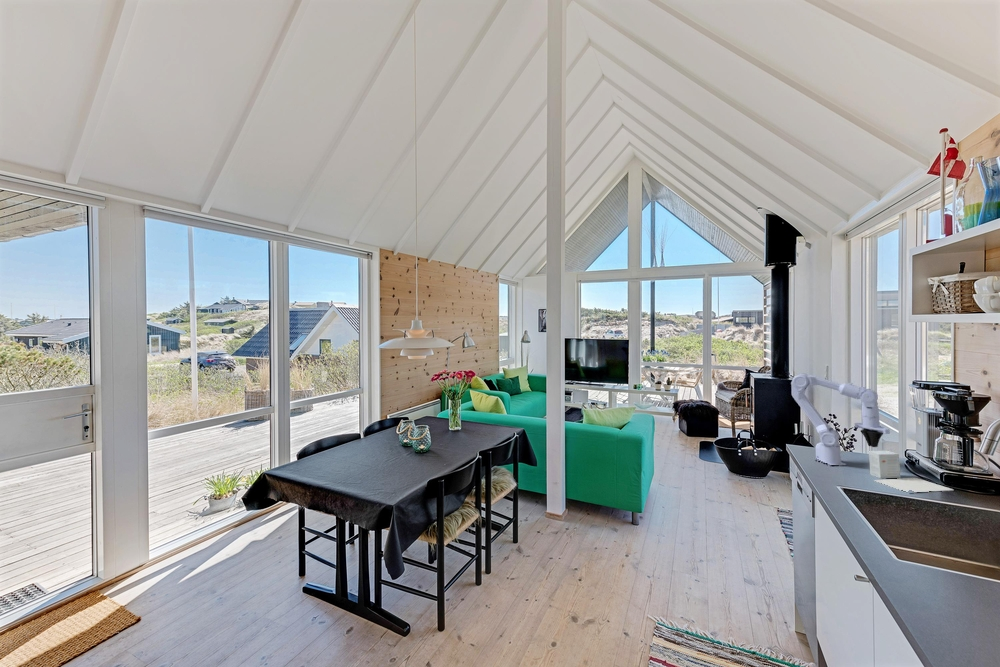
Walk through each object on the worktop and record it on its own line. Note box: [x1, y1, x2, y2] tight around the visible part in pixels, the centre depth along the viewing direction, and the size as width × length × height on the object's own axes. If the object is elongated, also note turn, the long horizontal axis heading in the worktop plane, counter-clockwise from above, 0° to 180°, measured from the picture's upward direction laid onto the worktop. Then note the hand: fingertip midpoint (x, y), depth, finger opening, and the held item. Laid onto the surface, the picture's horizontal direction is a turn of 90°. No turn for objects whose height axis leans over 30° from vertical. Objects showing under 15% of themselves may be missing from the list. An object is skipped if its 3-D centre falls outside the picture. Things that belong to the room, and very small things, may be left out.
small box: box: [868, 449, 901, 480], centre depth 173 cm, size 8×6×10 cm
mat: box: [873, 477, 954, 493], centre depth 162 cm, size 14×18×1 cm
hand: (872, 446), depth 183 cm, fingers closed
